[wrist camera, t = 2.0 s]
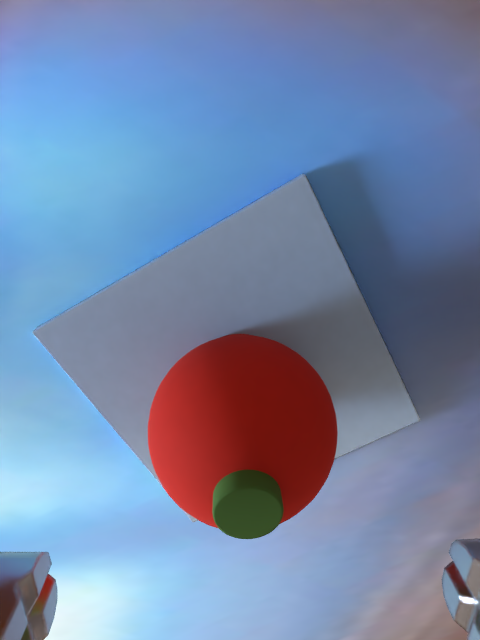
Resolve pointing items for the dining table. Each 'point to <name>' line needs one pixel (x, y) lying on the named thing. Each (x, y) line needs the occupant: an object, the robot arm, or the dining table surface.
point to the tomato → (242, 434)
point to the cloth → (236, 320)
